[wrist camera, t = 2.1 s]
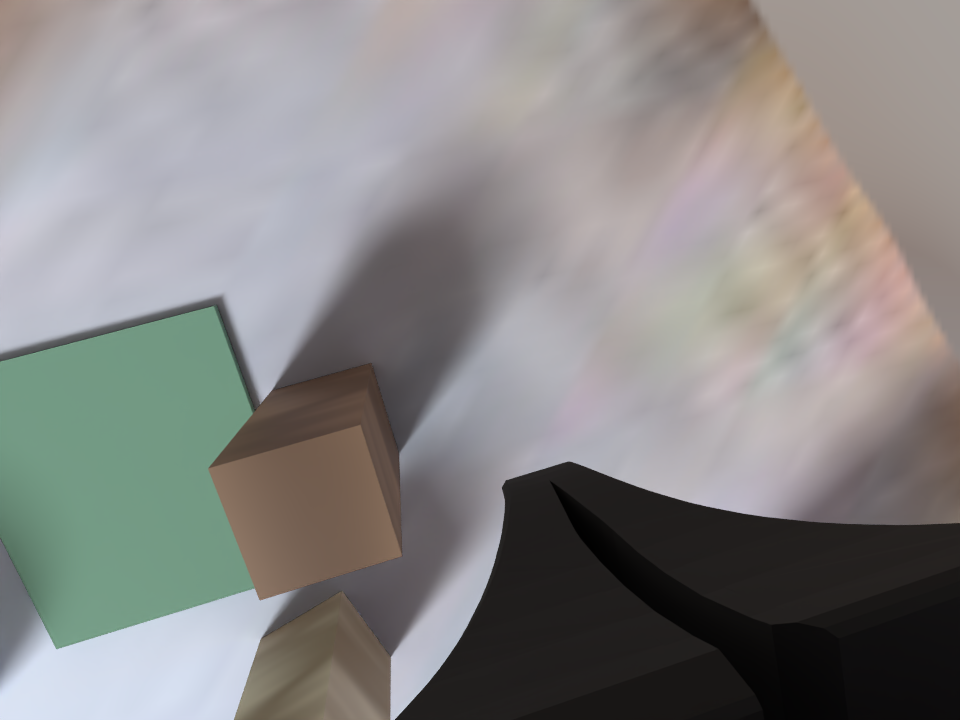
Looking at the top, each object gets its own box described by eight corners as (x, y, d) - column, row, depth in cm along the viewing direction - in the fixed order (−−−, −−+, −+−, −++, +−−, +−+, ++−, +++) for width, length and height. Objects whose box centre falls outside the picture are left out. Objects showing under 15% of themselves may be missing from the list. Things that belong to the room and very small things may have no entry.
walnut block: (371, 362, 20) (360, 424, 13) (399, 453, 21) (402, 556, 14) (272, 390, 20) (207, 468, 13) (303, 481, 20) (259, 600, 14)
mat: (216, 305, 19) (213, 306, 18) (311, 566, 21) (310, 571, 21) (-70, 380, 18) (-78, 382, 18) (61, 643, 20) (56, 649, 20)
